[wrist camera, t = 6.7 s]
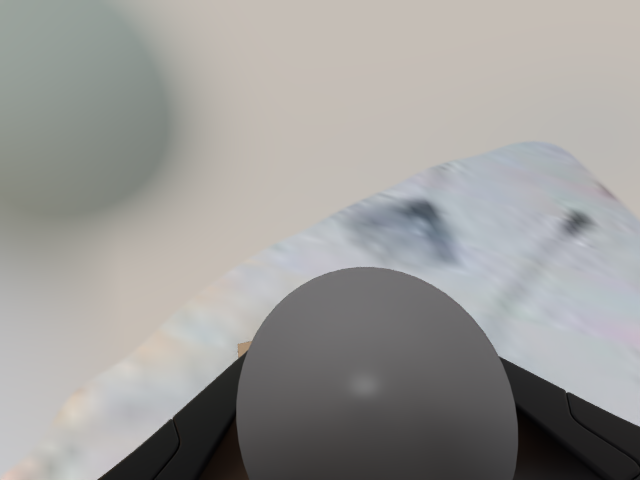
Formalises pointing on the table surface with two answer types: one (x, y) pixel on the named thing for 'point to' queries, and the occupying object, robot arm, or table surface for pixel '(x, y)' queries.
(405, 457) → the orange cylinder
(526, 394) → the robot arm
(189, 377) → the table surface
